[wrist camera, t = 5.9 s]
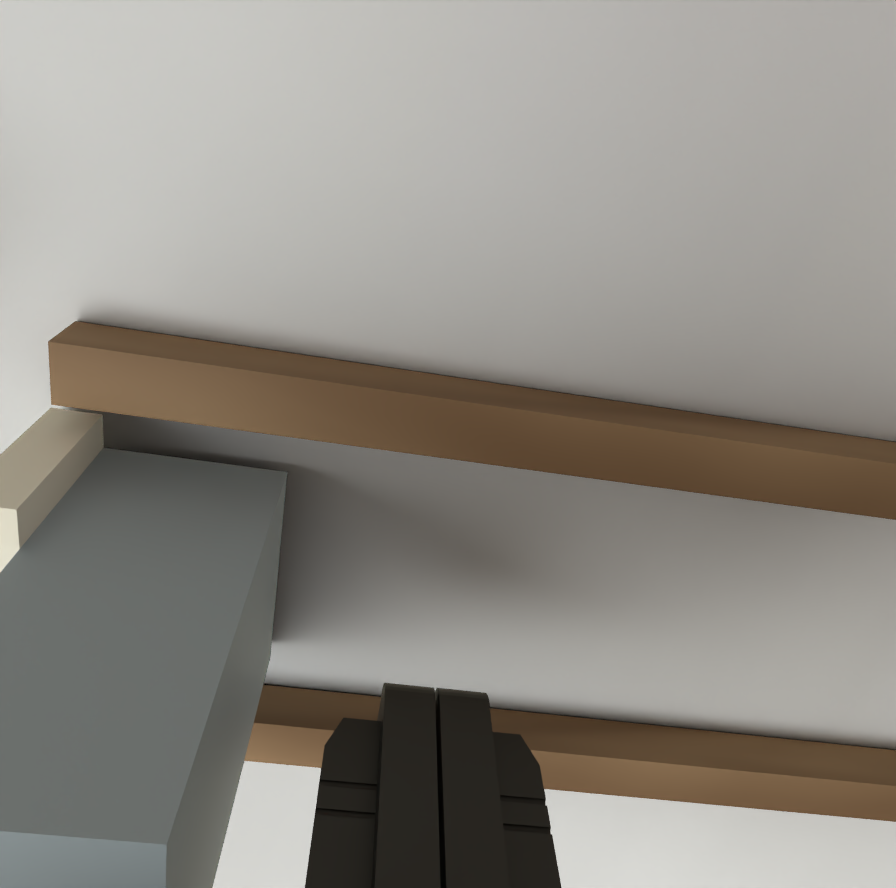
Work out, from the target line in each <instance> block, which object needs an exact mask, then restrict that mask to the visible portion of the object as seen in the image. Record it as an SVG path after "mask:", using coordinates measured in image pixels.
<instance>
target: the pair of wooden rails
mask: <svg viewBox="0 0 896 888" xmlns="http://www.w3.org/2000/svg"><path fill="white" fill-rule="evenodd" d="M48 347H49V367H50V386H51V405H58V406H66V407H73V408H80V409H88V410H95V411H102V412H110V413H117V414H124V415H132V416H139V417H146V418H154V419H161V420H168V421H176V422H183V423H190V424H198V425H205V426H212V427H220V428H227V429H234V430H242V431H249V432H256V433H264V434H271V435H278V436H286V437H293V438H300V439H308V440H315V441H322V442H329V443H337V444H344V445H351V446H359V447H366V448H373V449H381V450H388V451H395V452H403V453H410V454H417V455H425V456H432V457H439V458H447V459H454V460H461V461H469V462H476V463H483V464H491V465H498V466H505V467H513V468H520V469H527V470H535V471H542V472H549V473H557V474H564V475H571V476H579V477H586V478H593V479H600V480H608V481H615V482H622V483H630V484H637V485H644V486H652V487H659V488H666V489H674V490H681V491H688V492H696V493H703V494H710V495H718V496H725V497H732V498H740V499H747V500H754V501H762V502H769V503H776V504H784V505H791V506H798V507H806V508H813V509H820V510H828V511H835V512H842V513H850V514H857V515H864V516H871V517H879V518H886V519H893V520H896V442H891V441H884V440H877V439H870V438H863V437H857V436H850V435H843V434H836V433H830V432H823V431H816V430H809V429H802V428H796V427H789V426H782V425H775V424H769V423H762V422H755V421H748V420H741V419H735V418H728V417H721V416H714V415H708V414H701V413H694V412H687V411H680V410H674V409H667V408H660V407H653V406H647V405H640V404H633V403H626V402H619V401H613V400H606V399H599V398H592V397H586V396H579V395H572V394H565V393H558V392H552V391H545V390H538V389H531V388H525V387H518V386H511V385H504V384H497V383H491V382H484V381H477V380H470V379H464V378H457V377H450V376H443V375H436V374H430V373H423V372H416V371H409V370H403V369H396V368H389V367H382V366H375V365H369V364H362V363H355V362H348V361H342V360H335V359H328V358H321V357H314V356H308V355H301V354H294V353H287V352H281V351H274V350H267V349H260V348H253V347H247V346H240V345H233V344H226V343H220V342H213V341H206V340H199V339H192V338H186V337H179V336H172V335H165V334H159V333H152V332H145V331H138V330H131V329H125V328H118V327H111V326H104V325H98V324H91V323H84V322H77V321H75V322H74V323H72V324H71V325H70V326H68V327H67V328H66V329H64V330H63V331H62V332H60V333H59V334H58V335H56V336H55V337H54V338H52V339H51V340H50V341H48ZM380 701H381V697H377V696H368V695H358V694H348V693H339V692H329V691H319V690H310V689H300V688H290V687H281V686H271V685H263V688H262V692H261V696H260V700H259V704H258V708H257V712H256V716H255V719H254V723H253V727H252V731H251V735H250V739H249V743H248V747H247V751H246V755H245V759H244V761H254V762H265V763H275V764H286V765H297V766H307V767H318V768H321V767H322V760H323V753H324V745H325V744H326V742H327V741H328V739H329V738H330V737H331V735H332V734H333V732H334V731H335V729H336V728H337V726H338V725H339V723H340V722H341V720H342V719H343V718H354V719H364V720H374V721H377V719H378V713H379V707H380ZM490 714H491V722H492V731H493V732H501V733H511V734H520V735H521V736H522V738H523V739H524V741H525V743H526V744H527V746H528V747H529V749H530V750H531V752H532V754H533V755H534V757H535V758H536V760H537V762H538V763H539V765H540V770H541V775H542V781H543V787H544V789H553V790H563V791H574V792H585V793H595V794H606V795H617V796H627V797H638V798H649V799H660V800H670V801H681V802H692V803H702V804H713V805H724V806H734V807H745V808H756V809H766V810H777V811H788V812H798V813H809V814H820V815H830V816H841V817H852V818H862V819H873V820H884V821H894V822H896V750H888V749H878V748H868V747H859V746H849V745H839V744H830V743H820V742H811V741H801V740H791V739H782V738H772V737H762V736H753V735H743V734H733V733H724V732H714V731H705V730H695V729H685V728H676V727H666V726H656V725H647V724H637V723H628V722H618V721H608V720H599V719H589V718H579V717H570V716H560V715H550V714H541V713H531V712H522V711H512V710H502V709H493V708H490Z"/></svg>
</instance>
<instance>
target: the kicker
mask: <svg viewBox="0 0 896 888" xmlns="http://www.w3.org/2000/svg"><path fill="white" fill-rule="evenodd" d="M286 481H287V472H284V471H276V470H268V469H261V468H253V467H246V466H238V465H230V464H223V463H215V462H208V461H200V460H193V459H185V458H177V457H170V456H162V455H155V454H147V453H139V452H132V451H124V450H117V449H109V448H103V415H102V414H95V413H87V412H80V411H72V410H65V409H58V408H50V409H49V410H48V411H47V412H46V413H45V414H44V415H43V416H42V417H40V418H39V419H38V420H37V421H36V422H35V423H34V424H33V425H32V426H31V427H30V428H29V429H28V430H26V431H25V432H24V433H23V434H22V435H21V436H20V437H19V438H18V439H17V440H16V441H15V442H14V443H12V444H11V445H10V446H9V447H8V448H7V449H6V450H5V451H4V452H3V453H2V454H1V455H0V888H212V887H213V883H214V879H215V875H216V871H217V867H218V863H219V859H220V855H221V851H222V847H223V843H224V839H225V835H226V831H227V827H228V823H229V819H230V815H231V811H232V807H233V803H234V799H235V795H236V791H237V787H238V783H239V779H240V775H241V771H242V767H243V763H244V759H245V755H246V751H247V747H248V743H249V739H250V735H251V731H252V727H253V723H254V719H255V716H256V712H257V708H258V704H259V700H260V696H261V692H262V688H263V684H264V680H265V676H266V672H267V668H268V664H269V660H270V655H271V644H272V633H273V622H274V611H275V600H276V589H277V579H278V568H279V557H280V546H281V535H282V524H283V513H284V503H285V492H286Z"/></svg>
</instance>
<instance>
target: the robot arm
mask: <svg viewBox="0 0 896 888" xmlns="http://www.w3.org/2000/svg"><path fill="white" fill-rule="evenodd" d="M545 800H546V798H545V792H544V787H543V781H542V775H541V770H540V765H539V763H538V762H537V760H536V758H535V757H534V755H533V754H532V752H531V750H530V749H529V747H528V746H527V744H526V743H525V741H524V739H523V738H522V736H521V735H520V734H511V733H501V732H493V731H492V722H491V714H490V705H489V698H488V695H487V694H486V693H481V692H471V691H462V690H452V689H442V688H437V689H436V691H434V688H430V687H420V686H410V685H400V684H391V683H384V685H383V690H382V695H381V701H380V707H379V713H378V719H377V721H374V720H364V719H354V718H343V719H342V720H341V722H340V723H339V725H338V726H337V728H336V729H335V731H334V732H333V734H332V735H331V737H330V738H329V739H328V741H327V742H326V744H325V745H324V753H323V760H322V767H321V775H320V782H319V789H318V796H317V804H316V811H315V818H314V826H313V833H312V840H311V848H310V855H309V862H308V869H307V877H306V884H305V888H561V883H560V878H559V872H558V866H557V860H556V855H555V849H554V843H553V838H552V835H551V834H550V828H551V826H550V821H549V815H548V809H547V806H545Z"/></svg>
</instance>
